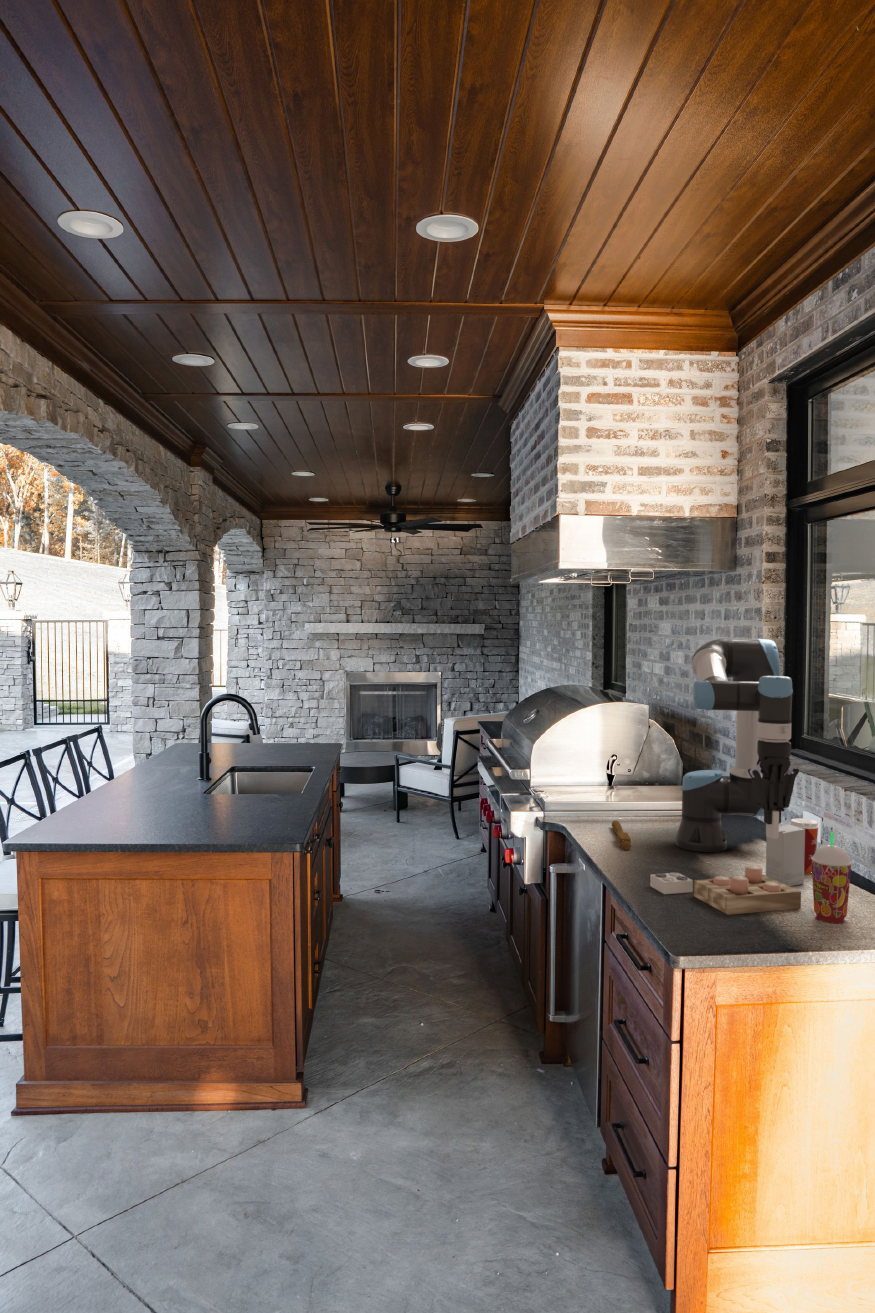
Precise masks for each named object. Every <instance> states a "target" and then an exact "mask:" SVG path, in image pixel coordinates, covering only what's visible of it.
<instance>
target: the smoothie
mask: <svg viewBox="0 0 875 1313" xmlns="http://www.w3.org/2000/svg"><path fill="white" fill-rule="evenodd" d="M829 839H830V843H827V844H823V845H821V846H819V847H818V848H816V852H815V854H814V856H812V858H811V860H812V873H811V875H812V876H811V877H812V894H813V896H812V897H813V912H814V913H815V915H816V918H817V919H818V920H820V921H822V922H826V923H831V924H839V923H840V924H841V923H843V922H844V921H845V918H847V916H848V908H849V907H848V904H849V896H850V895H849V894H850V884H851V873H852V863H853V862H852V861H851V859H850V856H849V855H848V853H847V852H846V851H845V849H844V848H842V847H840V846H839V845H838V844H837V845H836V844H834V832H830V838H829Z"/></svg>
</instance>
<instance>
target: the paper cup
mask: <svg viewBox="0 0 875 1313" xmlns="http://www.w3.org/2000/svg"><path fill="white" fill-rule="evenodd" d="M788 825H792V826H795V827H799V828H802V829H805V853H804V873H811V872H812V860H811V858H812V856H814V854H815V852H816V850H817V849H818V848H817V845H818V835H819V834H818V833H819V828H820V825H819V822H818V821H817V820H815V819H812V818H811V819H809V818H802V817H801V818H791V819H790V822H789V824H788ZM811 874H812V873H811Z"/></svg>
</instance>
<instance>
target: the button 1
mask: <svg viewBox="0 0 875 1313" xmlns="http://www.w3.org/2000/svg"><path fill="white" fill-rule="evenodd" d="M729 878H730V877H728V876H725V875H724V876H722V875H717V876H715V877H713V878H712V879H713V884H715V885H717V886H731V880H730V879H729Z"/></svg>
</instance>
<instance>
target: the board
mask: <svg viewBox="0 0 875 1313" xmlns="http://www.w3.org/2000/svg"><path fill="white" fill-rule="evenodd" d="M743 877H745V875H744V876H743ZM728 878H729V879H730V880H731V877H728ZM765 882H775V883H778V884H779V885H781V892H771V893H769V892H767V891H765V890H763V883H765ZM730 887H731V886H717V885H715V884H713V878H706V879H695V880H693V897H695V898H697V899H698V900H700V901H702V902H703V903H706V905H707V904H708V905H709V906H712V907H713V908H714V909H717V910H718V911H720V912H722V913H723V914H725V915H728V916H729V915H740V914H751V913H762V912H773V911H775V912H776V911H785V910H786V911H787V910H795V909H796V910H797V909H801V908H802V907H801V906H802V891H801V890H798V889H796V888H794V887H793V886H787V885H785V884H783V883H780V882H778V881H776V880H774V879H771V878H769V877H767V876H766V874H765V875H764V874H762V883H757V884H750V883H748V894H747V895H735V894H733V893H731V892H730Z"/></svg>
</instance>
